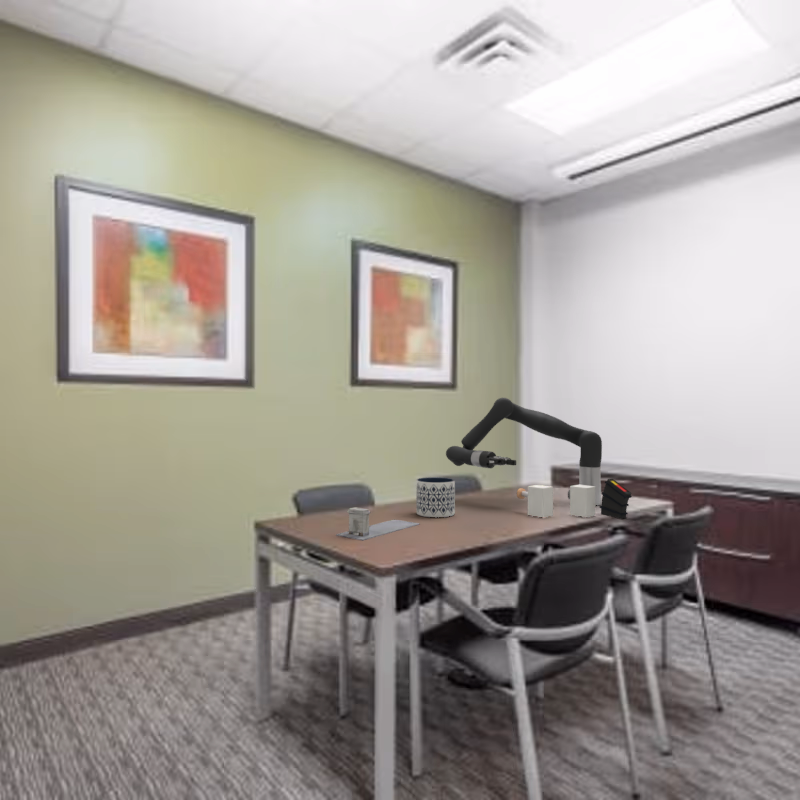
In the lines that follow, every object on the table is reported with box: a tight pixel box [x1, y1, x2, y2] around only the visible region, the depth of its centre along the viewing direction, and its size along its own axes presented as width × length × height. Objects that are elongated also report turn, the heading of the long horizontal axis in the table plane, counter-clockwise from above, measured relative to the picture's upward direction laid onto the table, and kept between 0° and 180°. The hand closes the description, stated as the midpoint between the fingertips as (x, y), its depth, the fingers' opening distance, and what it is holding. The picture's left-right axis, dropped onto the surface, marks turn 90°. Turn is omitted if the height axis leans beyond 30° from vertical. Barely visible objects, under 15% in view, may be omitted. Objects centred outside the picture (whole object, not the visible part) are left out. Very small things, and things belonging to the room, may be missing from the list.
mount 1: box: [527, 484, 554, 518], centre depth 244 cm, size 7×8×12 cm
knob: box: [516, 487, 528, 500], centre depth 249 cm, size 4×8×4 cm, turn 42°
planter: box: [415, 476, 456, 519], centre depth 247 cm, size 16×16×14 cm
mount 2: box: [569, 484, 596, 518], centre depth 246 cm, size 7×8×12 cm
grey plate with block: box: [335, 506, 421, 541], centre depth 218 cm, size 12×33×10 cm, turn 143°
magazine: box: [599, 478, 632, 519], centre depth 244 cm, size 4×13×15 cm, turn 28°
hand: (515, 462), depth 255 cm, fingers closed
